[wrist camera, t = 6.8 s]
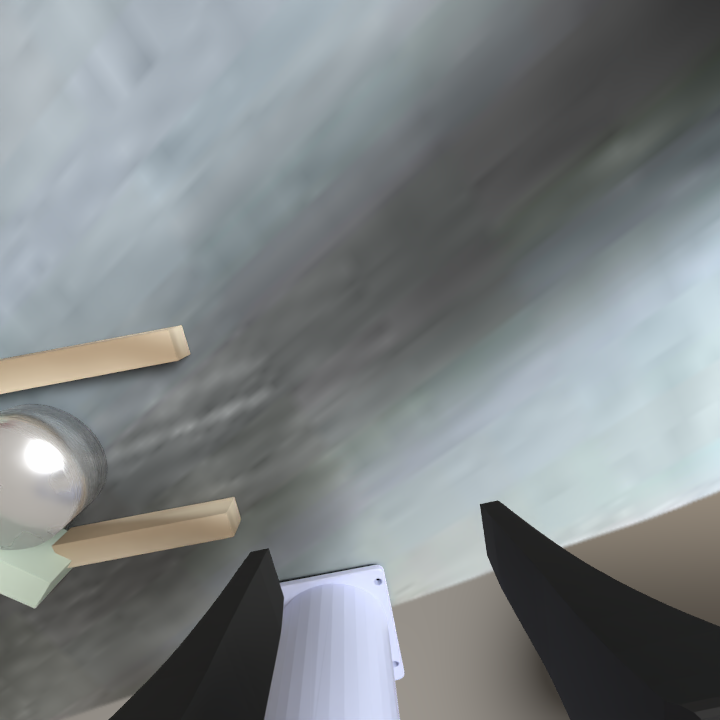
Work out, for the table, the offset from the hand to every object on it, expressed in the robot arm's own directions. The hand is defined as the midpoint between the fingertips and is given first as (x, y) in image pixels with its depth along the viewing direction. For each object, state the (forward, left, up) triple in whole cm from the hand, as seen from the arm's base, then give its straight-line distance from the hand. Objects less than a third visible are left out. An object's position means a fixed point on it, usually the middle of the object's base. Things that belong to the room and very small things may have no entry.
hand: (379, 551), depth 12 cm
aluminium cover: (+2, +18, -10) cm, 21 cm away
